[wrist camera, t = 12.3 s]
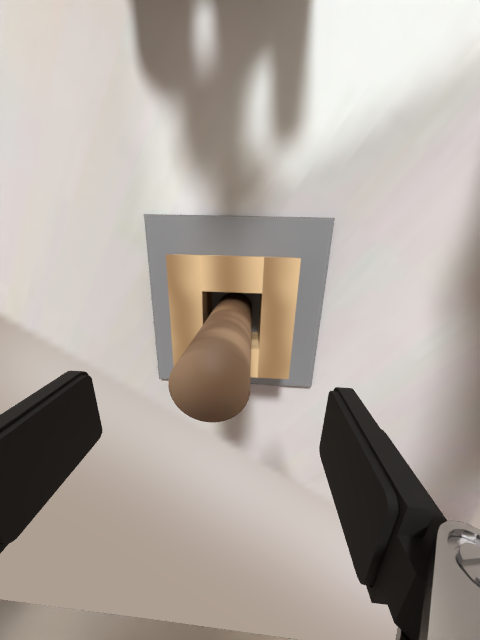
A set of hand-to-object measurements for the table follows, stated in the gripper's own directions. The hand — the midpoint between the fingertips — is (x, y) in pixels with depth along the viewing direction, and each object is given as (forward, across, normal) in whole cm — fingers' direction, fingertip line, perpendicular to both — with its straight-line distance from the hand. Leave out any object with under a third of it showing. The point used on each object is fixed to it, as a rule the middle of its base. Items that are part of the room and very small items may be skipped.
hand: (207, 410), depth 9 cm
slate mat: (+18, +1, +1) cm, 19 cm away
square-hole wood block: (+18, 0, +1) cm, 18 cm away
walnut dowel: (+18, +1, +1) cm, 18 cm away
